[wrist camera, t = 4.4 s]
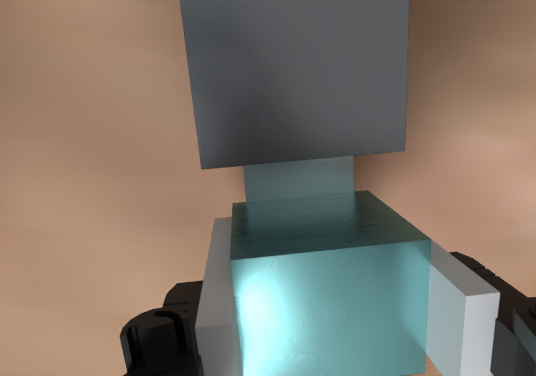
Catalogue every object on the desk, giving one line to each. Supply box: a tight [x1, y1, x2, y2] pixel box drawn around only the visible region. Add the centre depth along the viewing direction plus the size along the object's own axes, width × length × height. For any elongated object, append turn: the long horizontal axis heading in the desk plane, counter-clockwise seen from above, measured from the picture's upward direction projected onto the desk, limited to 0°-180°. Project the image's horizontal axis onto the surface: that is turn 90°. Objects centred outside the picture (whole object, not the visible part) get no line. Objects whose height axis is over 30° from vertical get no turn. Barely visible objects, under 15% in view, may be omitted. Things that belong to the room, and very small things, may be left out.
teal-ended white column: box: [230, 156, 431, 376], centre depth 12 cm, size 19×5×9 cm, turn 5°
